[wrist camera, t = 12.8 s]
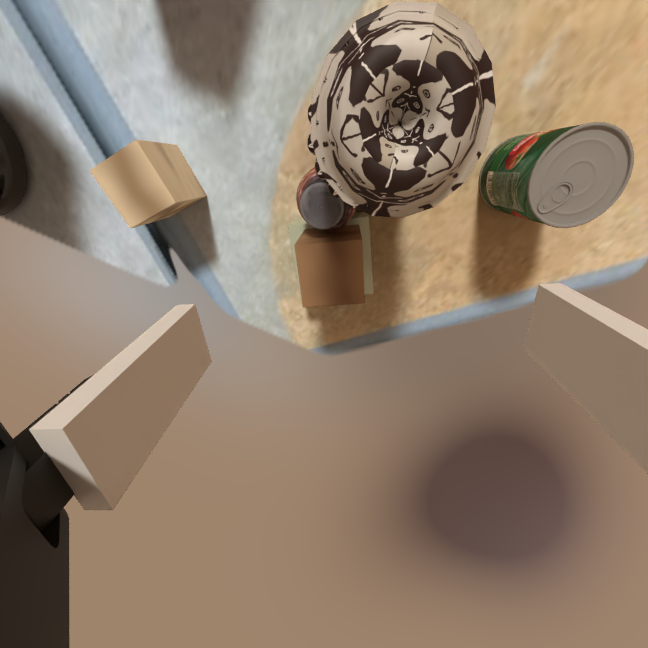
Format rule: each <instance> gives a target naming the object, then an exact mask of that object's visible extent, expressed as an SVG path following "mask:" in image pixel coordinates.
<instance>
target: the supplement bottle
mask: <svg viewBox="0 0 648 648" xmlns="http://www.w3.org/2000/svg"><path fill="white" fill-rule="evenodd" d="M297 206H298V209H299V212H300V214H301V216H302V217H303V219H304V220H305V221H306V222H307V223H308V224H309V225H310V226H312V227H314V228H315V229H318V230H321V231H334V230H337V229H339V228H342V227H343V226H345V225H346V224H347V223H348V222H349V221H350V220H351V218H352V217H353V215H354V213H355V211H356V209H353V208H351V207H349V206H348V205H347V204H346V202H344V201H343V200H342V199H341V198H340V199H339V198H336V197H334V196H333V195H332V194H331V193H330V191H329V188H328V185H327V180H323V179H321V178H319V177H318V175H317V173H316V170H315V167H314V168H313V169H311V170H310V171H309V172H308V173H307V174H306V175H305V176H304V177H303V178H302V180H301V182H300V184H299V186H298V190H297Z"/></svg>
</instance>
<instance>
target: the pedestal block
mask: <svg viewBox="0 0 648 648" xmlns="http://www.w3.org/2000/svg"><path fill="white" fill-rule="evenodd" d="M358 224H359V227H360V231H361V236H362V243H363V269H364V294H365V295H366V294H374V289H373V273H372V257H371V241H370V225H369V216H368V214H367V213H365V212H355V213H354V215H353V217H352V218H351V220H350V221H349V222H348V223H347V224H346V225H358ZM346 225H345V226H346ZM312 228H314V227H312V226H310V225H309V224H308V223H307V222H306V221H305V220H304V219H301V220H294V221H293V222H292V223H291V224H290V225H289V226H288V230H289V235H290V241H291V247H292V253H293V258H294V264H295V270H296V275H297V281H298V287H299V293H300V298H301V290H300V283H299V276H298V268H297V261H296V254H295V246H294V245H295V243H296V242H297V240H298V239H299V237H300V236H301V234H302V233H303V231H304V230H305V229H312ZM301 301H302V298H301Z"/></svg>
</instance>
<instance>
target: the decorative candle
mask: <svg viewBox="0 0 648 648" xmlns="http://www.w3.org/2000/svg"><path fill="white" fill-rule="evenodd" d="M495 107H496V105H495V94H494V84H493V73H492V63H491V61H490V59H489V57H488V55H487V53H486V52H485V50H484V48H483V46H482V44H481V42H480V41H479V39H478V37H477V35H476V33H475V31H474V29H473V28H472V26H471V25H470V24H469V23H467V22H466V21H464V20H463V19H461V18H460V17H458V16H457V15H455V14H453V13H452V12H450V11H449V10H447V9H446V8H444V7H443V6H441V5H440V4H438V3H432V2H407V1H395V2H393V3H391V4H389V5H387V6H385V7H383V8H381V9H379V10H377V11H375V12H373V13H371V14H369V15H367V16H365V17H363V18H360V19H358V20H357V21H356V22H355V23H354V24H353V25H352V27H351V28H350V29H349V30H348V31H347V32H346V34H345V35H344V36H343V37H342V38H341V40H340V41H339V42H338V43H337V44H336V45H335V47H334V48H333V49H332V50H331V51H330V52H329V54H328V55H327V57H326V60H325V63H324V65H323V68H322V71H321V74H320V76H319V79H318V82H317V84H316V87H315V90H314V92H313V95H312V104H311V105H310V107H309V109H308V118H309V121H310V123H311V133H310V135H309V138H308V148H309V150H310V151H311V153H313V154H314V155H316V163H315V170H316V173H317V175H318V177H319V178H321V179H323V180H327V185H328V188H329V191H330V193H331V194H332V195H333V196H334V197H336V198H339V199H340V198H341V199H342V200H343V201H344V202H346V204H347V205H348V206H349V207H351V208H353V209H359V210H361V211H363V212H365V213H367V214H369V215H371V216H384V217H400V218H403V217H406V216H409V215H412V214H415V213H418V212H421V211H424V210H427V209H429V208H432V207H435V206H436V205H437V204H439V203H440V202H441V201H442V200H443V199H445V198H446V197H447V196H448V195H450V194H451V193H452V192H453V191H454V190H456V189H457V188H458V187H459V186H461V185H462V184H463V183H464V181H465V180H466V178H467V177H468V175H469V173H470V172H471V170H472V169H473V167H474V166H475V164H476V162H477V161H478V159H479V158H480V156H481V154H482V153H483V151H484V150H485V147H486V143H487V139H488V135H489V131H490V127H491V123H492V119H493V115H494V111H495Z"/></svg>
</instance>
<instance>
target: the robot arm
mask: <svg viewBox="0 0 648 648" xmlns="http://www.w3.org/2000/svg"><path fill="white" fill-rule="evenodd" d="M26 180H27V176H26V167H25V162H24V158H23V154H22V151H21V149H20V146H19V144H18V142H17V139H16V137H15V135H14V134H13V132H12V130H11V128H10V127H9V125H8V124H7V122H6V121H5V119H4V118H3V117H2V115H1V114H0V215H3V214H6V213H8V212H10V211H12V210H13V209H14V208H15V207H16V206H17V205H18V204H19V203H20V201H21V200H22V198H23V196H24V193H25V189H26ZM523 349H524V350H525V351H526V352H527V353H528V354H529V355H530V356H531V357H532V358H533V359H534V360H535V361H536V362H537V363H538V364H539V365H540V366H541V367H542V368H543V369H544V370H545V371H546V372H547V373H548V374H549V375H550V376H551V377H552V378H553V379H554V380H555V381H556V382H557V383H558V384H559V385H560V386H561V387H562V388H563V389H564V390H565V391H566V392H567V393H568V394H569V395H570V396H571V397H572V398H573V399H574V400H575V401H576V402H577V403H578V404H579V405H580V406H581V407H582V408H583V409H584V410H585V411H586V412H587V413H588V414H589V415H590V416H591V417H592V418H593V419H594V420H595V421H596V422H597V423H598V424H599V425H600V426H601V427H602V428H603V429H604V430H605V431H606V432H607V433H608V434H609V435H610V436H611V437H612V438H613V439H614V440H615V441H616V442H617V443H618V444H619V445H620V446H621V447H622V448H623V449H624V450H625V451H626V452H627V453H628V454H629V455H630V456H631V457H632V458H633V459H634V460H635V461H636V462H637V463H638V464H639V465H640V466H641V467H642V468H643V469H644V470H645V471H646V472H647V473H648V329H646V328H644V327H642V326H640V325H638V324H636V323H634V322H633V321H631V320H629V319H627V318H625V317H623V316H621V315H619V314H617V313H616V312H613V311H612V310H610V309H608V308H606V307H604V306H602V305H600V304H599V303H597V302H595V301H593V300H591V299H589V298H587V297H585V296H584V295H582V294H580V293H578V292H576V291H574V290H572V289H571V288H569V287H567V286H565V285H563V284H561V283H558V284H541V285H539V286H538V290H537V294H536V298H535V302H534V306H533V311H532V315H531V319H530V323H529V327H528V331H527V335H526V339H525V343H524V347H523ZM211 362H212V361H211V357H210V354H209V350H208V347H207V343H206V340H205V337H204V333H203V330H202V327H201V323H200V319H199V316H198V313H197V309H196V306H195V304H189V305H188V304H187V305H176V306H175V307H174V308H173V309H172V310H170V311H169V312H168V313H167V314H166V315H164V316H163V317H162V318H161V319H160V320H159V321H158V322H156V323H155V324H154V325H153V326H151V327H150V328H149V329H148V330H147V331H145V333H143V334H142V335H141V336H140V337H138V338H137V339H136V340H135V341H134V342H132V343H131V344H130V345H129V346H128V347H126V348H125V349H124V350H123V351H122V352H121V353H119V354H118V355H117V356H116V357H115V358H113V359H112V360H111V361H110V362H109V363H107V364H106V365H105V366H104V367H103V368H101V369H100V370H99V371H98V372H97V373H96V374H94V375H92V376H90V377H89V378H87V379H85V380H84V381H83V382H81V383H80V384H79V385H78V386H76V387H75V388H74V389H73V390H72V391H71V392H70V394H67V395H66V396H64V397H63V398H62V399H61V400H60V401H59V403H58V404H55V405H54V406H53V407H51V408H50V409H49V410H48V411H46V412H45V413H44V414H43V415H41V416H40V417H39V418H38V419H37V420H35V421H34V422H33V423H32V424H31V425H29V426H28V427H27V428H26V429H25V430H23V431H22V432H21V433H20V434H19V435H17V436H16V437H15V438H14V439H13V438H12V437H11V436H10V435H9V433H8V432H7V430H6V429H5V428H4V426H3V425H2V424H1V423H0V648H69V517H68V514H67V512H66V511H65V509H64V508H63V507H64V506H65V505H66V504H67V503H68V501H69V500H70V499H71V498H72V496H73V495H74V496H75V497H76V499H77V500H78V502H79V503H80V504H81V506H82V507H83V509H84V510H113V509H114V508H115V506H116V505H117V503H118V501H119V500H120V499H121V497H122V495H123V494H124V493H125V491H126V490H127V488H128V487H129V485H130V484H131V482H132V480H133V479H134V477H135V476H136V475H137V473H138V472H139V470H140V469H141V467H142V466H143V464H144V462H145V461H146V460H147V458H148V456H149V455H150V454H151V452H152V451H153V449H154V447H155V446H156V444H157V443H158V441H159V440H160V438H161V437H162V435H163V434H164V432H165V431H166V429H167V428H168V426H169V425H170V423H171V422H172V420H173V419H174V417H175V416H176V414H177V413H178V411H179V410H180V408H181V407H182V405H183V404H184V402H185V401H186V399H187V398H188V396H189V395H190V393H191V392H192V390H193V389H194V387H195V386H196V384H197V383H198V381H199V380H200V378H201V377H202V375H203V374H204V372H205V371H206V369H207V368H208V366H209V365H210V363H211Z"/></svg>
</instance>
